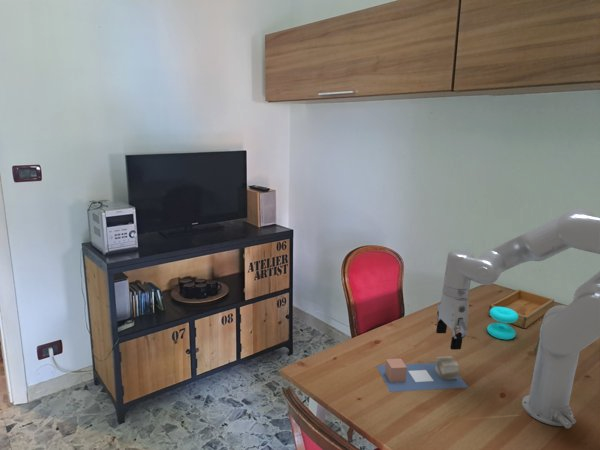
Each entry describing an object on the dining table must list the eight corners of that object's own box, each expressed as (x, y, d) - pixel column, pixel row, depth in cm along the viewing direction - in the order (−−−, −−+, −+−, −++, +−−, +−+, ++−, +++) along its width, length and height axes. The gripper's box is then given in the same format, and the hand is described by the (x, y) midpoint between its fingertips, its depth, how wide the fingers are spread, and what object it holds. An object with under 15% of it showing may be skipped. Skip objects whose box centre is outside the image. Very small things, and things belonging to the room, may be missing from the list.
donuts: (489, 303, 167) (516, 307, 164) (485, 326, 170) (512, 331, 167) (491, 314, 158) (520, 318, 155) (487, 338, 161) (516, 343, 157)
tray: (517, 299, 199) (519, 288, 198) (552, 310, 188) (554, 298, 187) (487, 317, 179) (489, 304, 178) (524, 330, 168) (526, 317, 167)
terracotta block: (405, 381, 130) (407, 367, 129) (390, 382, 130) (391, 368, 129) (399, 372, 135) (401, 358, 134) (384, 373, 135) (386, 359, 133)
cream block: (457, 378, 133) (458, 364, 131) (442, 379, 132) (443, 365, 131) (449, 369, 137) (451, 356, 136) (435, 370, 137) (436, 356, 136)
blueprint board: (468, 389, 129) (468, 386, 128) (390, 393, 125) (390, 391, 125) (447, 363, 142) (447, 361, 142) (376, 367, 139) (376, 365, 139)
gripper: (482, 302, 120) (473, 355, 125) (453, 279, 137) (446, 327, 141) (458, 302, 119) (449, 356, 124) (431, 279, 136) (425, 327, 140)
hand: (447, 340), depth 132 cm, fingers open, 9 cm apart
